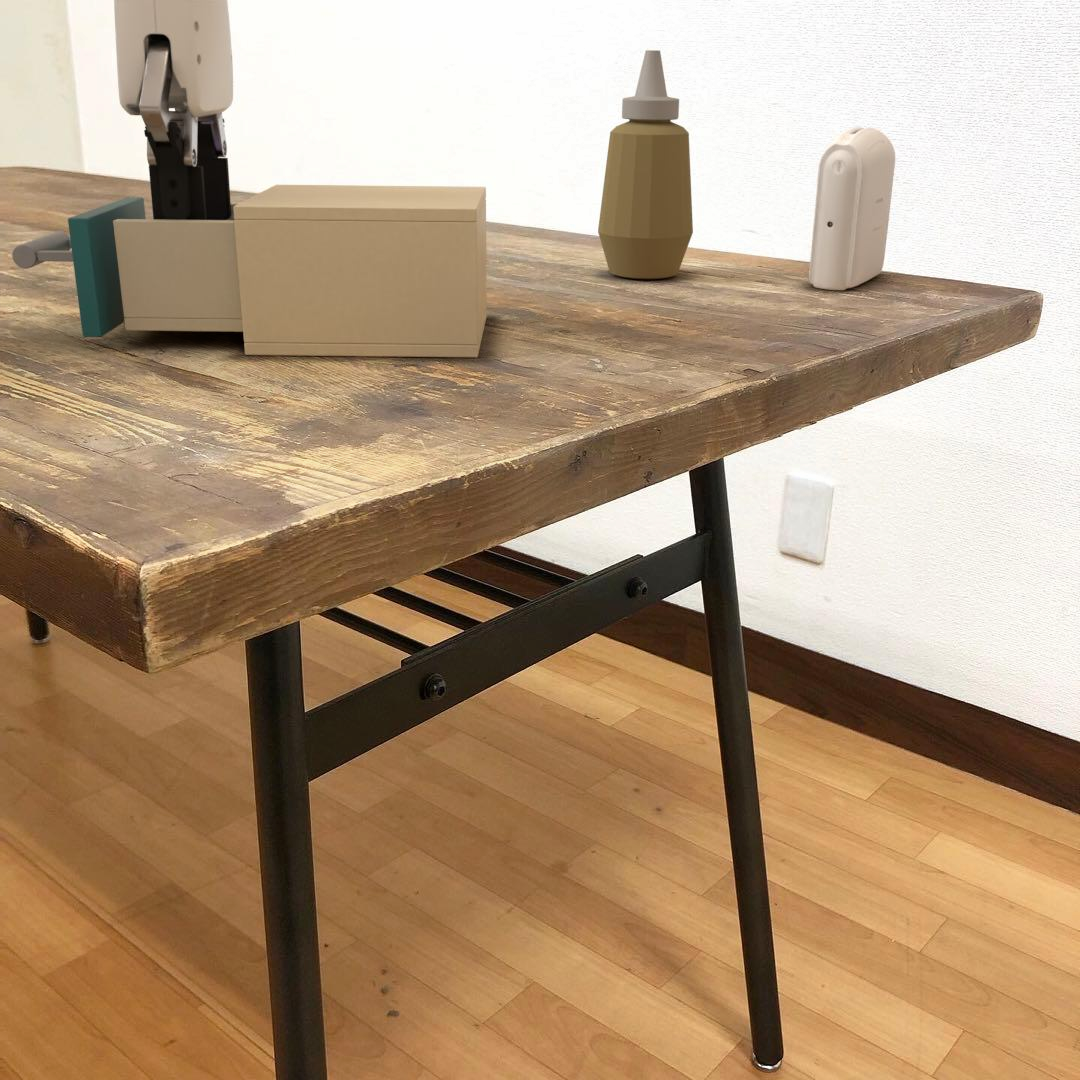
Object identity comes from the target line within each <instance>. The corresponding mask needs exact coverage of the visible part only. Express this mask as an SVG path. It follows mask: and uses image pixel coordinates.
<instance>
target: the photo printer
mask: <svg viewBox="0 0 1080 1080" xmlns="http://www.w3.org/2000/svg"><path fill="white" fill-rule="evenodd" d="M895 167H896V152H895V147H894V145H893V142H892V141H891V140H890V139H889V137H888V136H886V135H885V134H884V133H883V132H882V131H880V130H878V129H876V128H875V127H866V128H864V127H861V126H855V127H850V128H848V129H846V130H844V131H842V132H841V133H840V134H838V135H836V137H834V139H832V140H831V142H829V144H828V145H827V146H826V148H825V149H824V151H823V153H822V155H821V157H820V159H819V164H818V173H817V181H816V183H817V184H816V194H815V206H814V216H813V217H814V218H813V227H812V237H811V238H812V239H811V247H810V249H811V250H810V260H809V269H808V282H809V284H810V285H813V288H816V289H819V290H820V289H821V290H827V291H828V290H829V291H846V290H847V289H852V288H855V287H857V286H859V285H861V284H864V283H865V282H867V281H869V280H871V279H873V278H875V277H876V276H878V275H880V274H881V273H882V271H883V268H884V262H885V256H886V249H887V248H886V246H887V239H888V229H889V223H890V222H889V221H890V213H891V203H892V195H893V194H892V193H893V186H894V185H893V184H894V176H895Z"/></svg>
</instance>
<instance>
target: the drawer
mask: <svg viewBox="0 0 1080 1080" xmlns="http://www.w3.org/2000/svg"><path fill="white" fill-rule="evenodd" d="M239 203H240V202H231V217H230V218H229V219H227V220H159V219H153V218H152V219H151V218H150V219H149V218H146V207H145V199H144V197H137V196H136V197H132V196H131V197H125V198H122V199H119V200H116V201H113V202H111V203H107V204H105V205H102V206H99V207H96V208H93V209H91V210H87V211H86V212H85V211H84V212H82V213H79V214H76V215H74V216H71V217H68V218H67V224H68V231H69V234H68V233H67V232H64V231H63V230H56V231H54V232H50V233H48V234H46V235H43V236H40V237H37V238H35V239H32V240H29V241H27V242H24V243H21V244H18V245H16V246H15V247H14V248H13V250H12V253H11V256H12V260H13V263H14V264H15V265H16V266H18V267H19V268H20V269H25V270H27V269H31V268H33V267H36V266H38V265H40V264H43V263H46V262H61V263H62V262H67V263H68V262H73V263H72V264H73V271H74V278H75V286H76V294H77V301H78V302H77V303H78V309H79V317H80V325H81V326H80V327H81V332H82V334H81V335H82V337H83V338H102V337H104V336H105V335H107V334H108V333H111V331H113V330H115V329H116V328H118V327H119V326H121V325H122V324H124V328H125V331H131V332H132V331H133V332H134V331H141V332H142V331H143V332H144V331H145V332H151V331H152V332H224V333H225V332H227V333H228V332H231V333H232V332H234V333H235V332H236V333H237V332H239V333H243V323H242V310H241V298H240V285H239V273H238V260H237V248H236V235H235V222H234V220H235V219H234V210H233V206H235V205H237V204H239Z"/></svg>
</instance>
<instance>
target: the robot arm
mask: <svg viewBox="0 0 1080 1080" xmlns="http://www.w3.org/2000/svg"><path fill="white" fill-rule="evenodd" d="M113 5H114V6H113V8H114V9H113V10H114V11H113V12H114V31H115V51H116V52H115V53H116V68H117V69H116V70H117V85H118V86H117V87H118V88H117V89H118V98H119V104H120V106H121V107H122V109H123V110H124V111H125V112H126V113H127V114H128V115H130V116H140V117H141V119H142V121H143V123H144V128H145V129H144V130H143V133H144V136H145V138H146V159H147V160H146V161H147V163H148V173H149V185H150V195H151V196H150V197H151V206H152V207H151V210H152V219H159V220H227V219H229V218H230V217H231V203H232V202H231V189H230V188H231V187H230V174H229V173H230V172H229V157H227V155H228V146H227V139H226V130H225V118H223V112H226V111H227V110H228V109H229V108H230V107H231V106H232V104H233V100H234V67H233V65H234V64H233V51H232V36H231V24H230V23H231V22H230V12H229V3H228V0H113ZM170 109H174V110H170Z"/></svg>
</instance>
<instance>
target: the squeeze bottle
mask: <svg viewBox="0 0 1080 1080" xmlns="http://www.w3.org/2000/svg"><path fill="white" fill-rule="evenodd" d="M664 72H665V71H664V68H663V62H662V54H661V50H655V49H654V50H652V49H651V50H650V49H649V50H647V49H646V50H645V51H644V56H643V59H642V64H641V69H640V73H639V77H638V81H637V85H636V89H635V94H634V96H628V97H622V103H621V118H622V120H623V119H624V120H627V121H626V122H623V123H620V124H618V125H616V126H615V127H614V128H613V129H612V130H611V131H610V132H609V138H608V139H609V140H608V147H607V155H606V163H605V171H604V178H603V179H604V181H603V189H602V194H601V203H600V211H599V219H598V220H599V221H598V226H597V227H598V228H597V233H598V236H599V240H600V244H601V247H602V250H603V254H604V257H605V260H606V263H607V264H606V265H607V268H608V272H609V273H610V274H611V275H614V276H617V277H621V278H625V279H633V280H661V279H667V278H671V277H674V276H677V275H679V274H678V273H679V271H680V269H681V266H682V263H683V259H684V258H685V255H686V252H687V250H688V247H689V244H690V241H691V239H692V236H693V233H694V225H693V222H694V221H693V201H692V180H691V179H692V178H691V177H692V176H691V155H690V154H691V151H690V133H689V131H688V130H687V129H686V128H685V127H684V126H682V125H680V124H678V123H676V122H673V121H675V120H678V119H679V116H680V115H679V113H680V99H679V98H677V97H670V96H668V93H667V87H666V80H665V74H664Z"/></svg>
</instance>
